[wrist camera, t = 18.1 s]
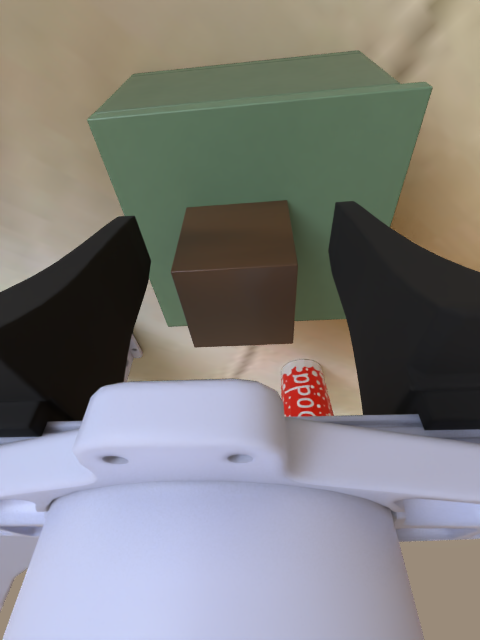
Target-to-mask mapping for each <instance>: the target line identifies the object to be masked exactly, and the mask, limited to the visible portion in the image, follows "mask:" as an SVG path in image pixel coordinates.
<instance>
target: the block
mask: <svg viewBox="0 0 480 640" xmlns="http://www.w3.org/2000/svg"><path fill="white" fill-rule="evenodd" d="M171 275H172V278H173V281H174V284H175V288H176V291H177V294H178V297H179V300H180V303H181V306H182V309H183V313H184V316H185V319H186V322H187V325H188V328H189V331H190V334H191V338H192V341H193V344H194V347H217V346H242V345H267V344H292V343H293V336H294V321H295V306H296V291H297V276H298V261H297V255H296V249H295V243H294V237H293V231H292V226H291V220H290V214H289V208H288V202H287V200H282V201H268V202H254V203H240V204H226V205H212V206H199V207H187V208H186V211H185V215H184V219H183V224H182V228H181V232H180V236H179V240H178V244H177V248H176V252H175V256H174V260H173V265H172V269H171Z"/></svg>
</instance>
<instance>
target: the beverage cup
mask: <svg viewBox="0 0 480 640" xmlns="http://www.w3.org/2000/svg"><path fill="white" fill-rule="evenodd" d="M281 400H282V401H283V404H284V416H285V417H300V416H334V415H333V411H332V407H331V403H330V399H329V395H328V391H327V388H326V384H325V380H324V376H323V372H322V368H321V366H320V365H319V364H318V363H317V362H315V361H312V360H305V359H302V360H295V361H292V362H289V363H287V364H286V365H285V366H283V368H282V370H281Z"/></svg>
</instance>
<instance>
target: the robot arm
mask: <svg viewBox="0 0 480 640" xmlns="http://www.w3.org/2000/svg"><path fill="white" fill-rule="evenodd" d="M328 253H329V260H330V266H331V272H332V276H333V279H334V282H335V285H336V288H337V291H338V295H339V298H340V301H341V304H342V307H343V310H344V313H345V316H346V319H347V323H348V327H349V331H350V336H351V341H352V346H353V351H354V357H355V363H356V369H357V375H358V381H359V388H360V395H361V402H362V410H363V415H350V416H300V417H285V416H284V404H283V401H282V400H281V398H280V396H279V394H278V392H277V391H275V390H274V389H272V388H270V387H268V386H266V385H263V384H261V383H259V382H257V381H250V380H241V379H202V380H167V381H133V382H127V379H128V376H129V372H130V369H131V365H132V362H133V358H141V357H142V355H143V352H142V350H141V348H140V347H139V345H138V343H137V341H136V339H135V337H134V335H133V334H132V333H133V329H134V326H135V323H136V319H137V316H138V313H139V310H140V307H141V304H142V301H143V297H144V294H145V291H146V288H147V284H148V280H149V274H150V266H151V259H150V256H149V253H148V250H147V248H146V245H145V242H144V239H143V237H142V234H141V231H140V228H139V226H138V223H137V220H136V217H135V216H121V217H117V218H116V219H114V220H112V221H111V222H110V223H108V224H107V225H106V226H104V227H103V228H102V229H100V230H99V231H98V232H97V233H95V234H94V235H93V236H91V237H90V238H89V239H88V240H86V241H85V242H84V243H82V244H81V245H80V246H78V247H77V248H76V249H74V250H73V251H71V252H70V253H69V254H67V255H66V256H64V257H63V258H62V259H60V260H59V261H57V262H56V263H54V264H53V265H51V266H49V267H48V268H46V269H44V270H43V271H41V272H39V273H37V274H36V275H34V276H32V277H30V278H29V279H26V280H24V281H22V282H20V283H18V284H16V285H14V286H12V287H10V288H8V289H6V290H4V291H2V292H0V611H1V609H2V607H3V604H4V602H5V600H6V597H7V595H8V593H9V590H10V588H11V586H12V583H13V581H14V579H15V578H16V576H18V575H19V574H20V573H22V572H23V571H25V570H26V569H28V570H27V573H26V576H25V578H24V581H23V584H22V587H21V589H20V592H19V595H18V598H17V601H16V603H15V606H14V609H13V612H12V614H11V617H10V620H9V623H8V626H7V628H6V631H5V634H4V637H3V640H424V636H423V632H422V629H421V625H420V621H419V617H418V613H417V609H416V606H415V602H414V598H413V594H412V590H411V587H410V583H409V579H408V575H407V571H406V567H405V563H404V559H403V556H402V552H401V548H400V544H399V542H405V541H433V540H461V539H480V272H478V271H475V270H472V269H469V268H466V267H464V266H462V265H459V264H457V263H454V262H452V261H449V260H447V259H445V258H442V257H440V256H438V255H436V254H434V253H432V252H430V251H428V250H426V249H424V248H422V247H420V246H418V245H417V244H415V243H413V242H411V241H410V240H408V239H407V238H405V237H403V236H402V235H400V234H399V233H397V232H396V231H394V230H393V229H391V228H390V227H388V226H387V225H386V224H384V223H383V222H382V221H380V220H379V219H378V218H376V217H375V216H374V215H372V214H371V213H370V212H368V211H367V210H366V209H364V208H363V207H362V206H360V205H359V204H358V203H356V202H354V201H345V202H336V203H335V209H334V216H333V222H332V229H331V235H330V242H329V248H328Z"/></svg>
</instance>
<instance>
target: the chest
mask: <svg viewBox="0 0 480 640" xmlns="http://www.w3.org/2000/svg"><path fill="white" fill-rule="evenodd" d="M396 84H400V83H399V82H398V81H396V80H395V79H394V78H393V77H391V76H390V75H389V74H388V73H386V72H385V71H384V70H383V69H381V68H380V67H379V66H378V65H376V64H375V63H374V62H373V61H371V60H370V59H369V58H368V57H366V56H365V55H364V54H363V53H361V52H360V51H349V52H340V53H330V54H321V55H311V56H301V57H292V58H282V59H273V60H263V61H253V62H244V63H234V64H225V65H215V66H205V67H196V68H186V69H177V70H167V71H157V72H148V73H138V74H133V75H132V76H131V77H130V78H129V79H128V80H127V81H126V82H125V83H124V84H123V85H122V86H121V87H120V88H119V89H118V90H117V91H116V92H115V93H114V94H113V95H112V96H111V97H110V98H109V99H108V100H107V101H106V102H105V103H104V104H103V105H102V106H101V107H100V108H99V109H98V110H97V111H96V112H95V113H104V112H115V111H125V110H136V109H146V108H157V107H167V106H177V105H188V104H198V103H209V102H219V101H230V100H240V99H250V98H261V97H271V96H282V95H292V94H303V93H313V92H323V91H334V90H344V89H355V88H365V87H376V86H386V85H396Z"/></svg>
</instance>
